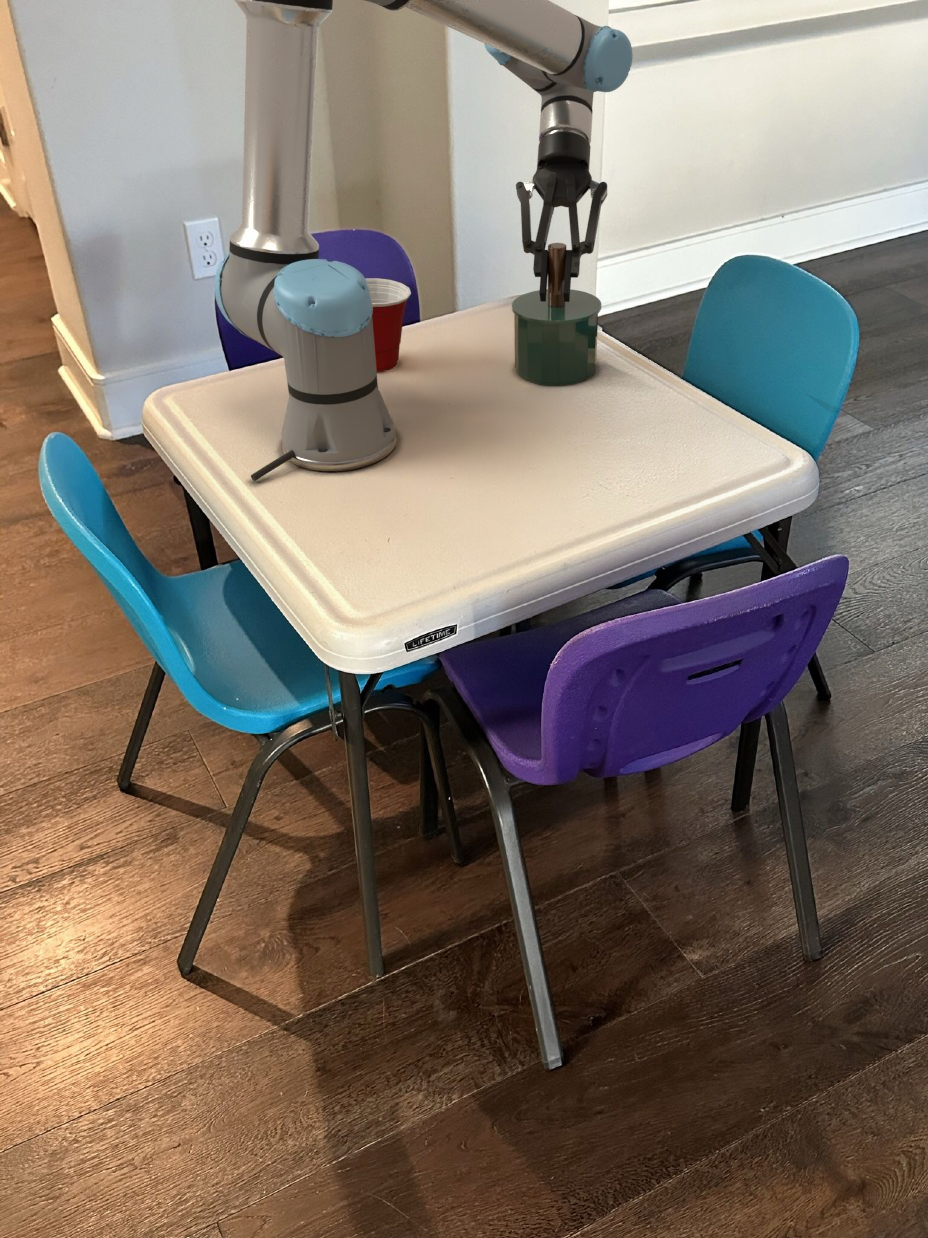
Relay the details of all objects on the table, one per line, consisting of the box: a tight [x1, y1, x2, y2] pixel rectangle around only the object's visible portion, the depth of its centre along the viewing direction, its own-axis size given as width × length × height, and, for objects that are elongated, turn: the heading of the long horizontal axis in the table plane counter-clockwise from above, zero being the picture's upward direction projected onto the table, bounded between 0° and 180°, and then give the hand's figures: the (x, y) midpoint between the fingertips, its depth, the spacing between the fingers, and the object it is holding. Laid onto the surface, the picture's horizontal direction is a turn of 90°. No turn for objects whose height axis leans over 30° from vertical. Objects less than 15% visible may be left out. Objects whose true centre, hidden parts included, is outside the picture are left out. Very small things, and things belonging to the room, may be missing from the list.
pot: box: [513, 313, 599, 387], centre depth 167 cm, size 12×12×10 cm
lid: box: [511, 242, 603, 324], centre depth 161 cm, size 13×13×10 cm
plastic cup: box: [365, 277, 412, 373], centre depth 170 cm, size 11×11×12 cm
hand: (554, 297), depth 159 cm, fingers open, 3 cm apart
